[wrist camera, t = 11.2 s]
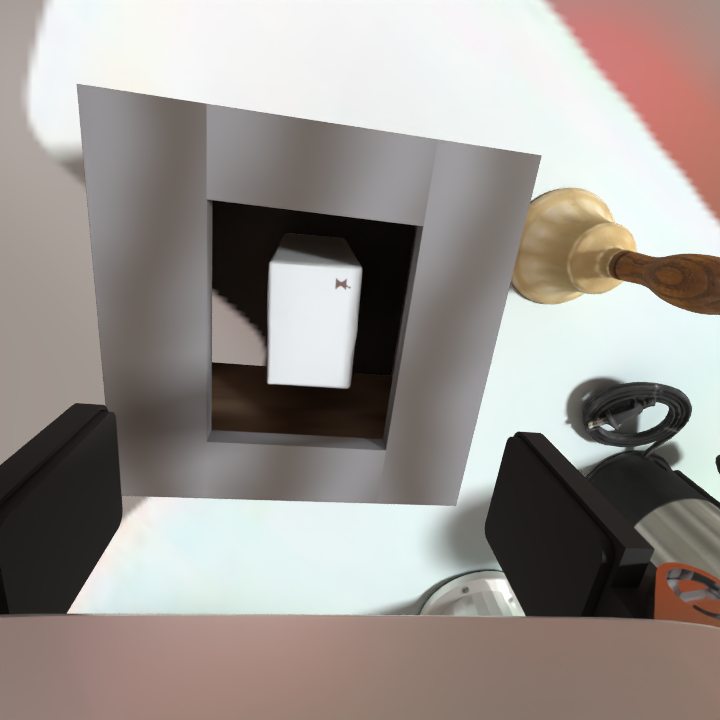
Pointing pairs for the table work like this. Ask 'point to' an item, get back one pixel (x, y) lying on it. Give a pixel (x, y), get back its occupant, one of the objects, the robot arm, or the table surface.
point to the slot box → (249, 383)
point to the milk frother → (654, 477)
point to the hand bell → (602, 257)
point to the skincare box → (312, 311)
